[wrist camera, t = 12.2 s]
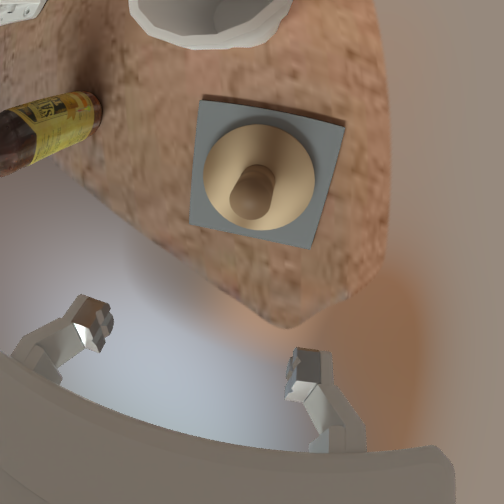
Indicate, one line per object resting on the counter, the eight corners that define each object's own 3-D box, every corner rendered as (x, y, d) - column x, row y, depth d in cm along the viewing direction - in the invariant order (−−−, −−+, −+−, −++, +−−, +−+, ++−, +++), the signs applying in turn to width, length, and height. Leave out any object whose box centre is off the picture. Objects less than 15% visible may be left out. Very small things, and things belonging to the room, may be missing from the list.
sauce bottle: (108, 91, 24) (-49, 142, 8) (101, 141, 28) (-35, 223, 12) (68, 88, 24) (-71, 137, 8) (64, 134, 28) (-61, 205, 11)
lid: (201, 214, 31) (183, 243, 26) (212, 116, 25) (190, 125, 20) (299, 235, 31) (299, 268, 26) (325, 137, 25) (333, 152, 20)
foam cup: (215, -26, 16) (159, -81, 6) (308, -7, 17) (317, -69, 6) (186, 52, 22) (109, 40, 11) (278, 74, 22) (263, 64, 12)
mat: (190, 221, 32) (189, 224, 32) (201, 99, 25) (199, 100, 24) (309, 246, 32) (310, 249, 32) (344, 126, 24) (345, 127, 24)
